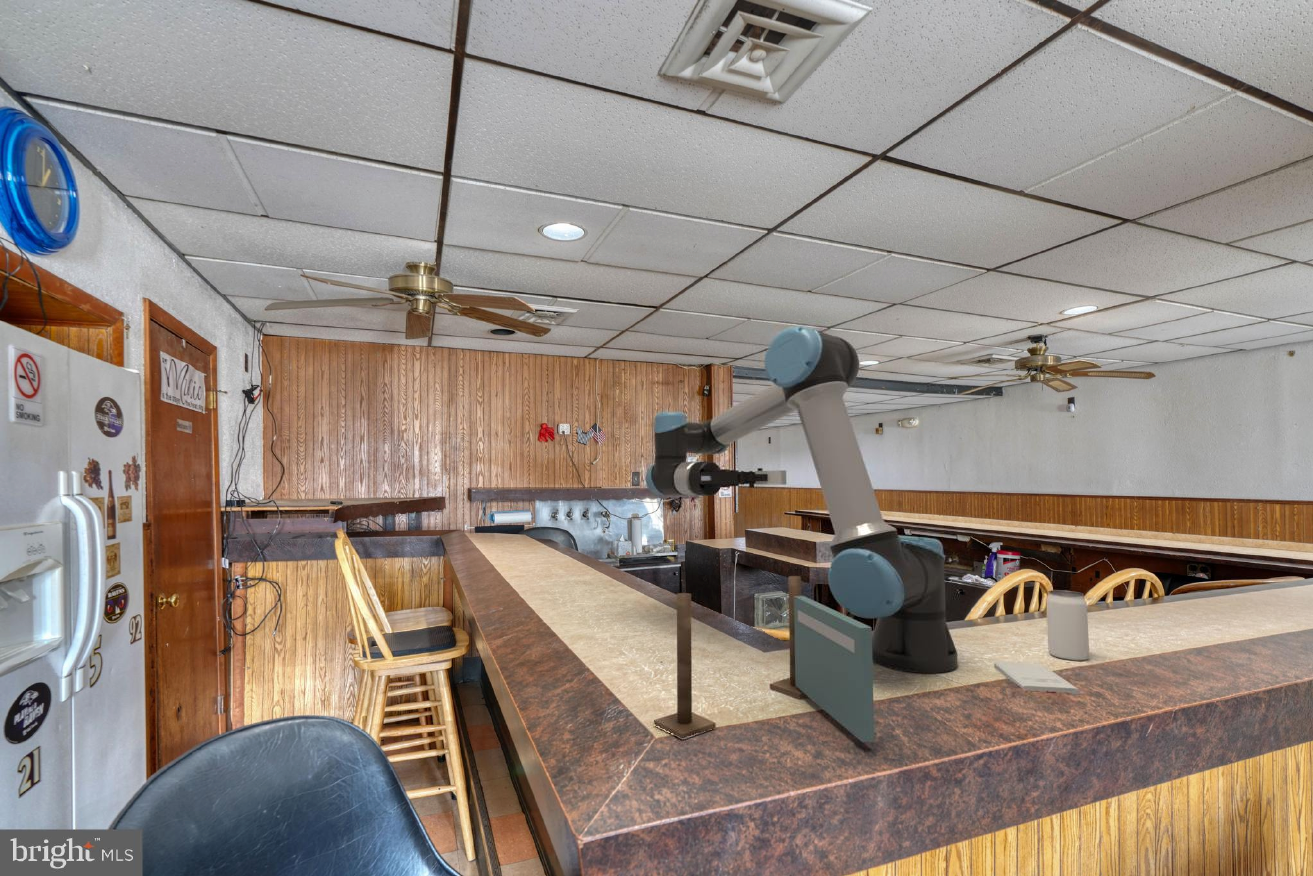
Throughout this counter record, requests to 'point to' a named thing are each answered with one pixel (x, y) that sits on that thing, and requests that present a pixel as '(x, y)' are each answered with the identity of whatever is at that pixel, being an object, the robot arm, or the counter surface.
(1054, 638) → the can
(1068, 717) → the counter surface
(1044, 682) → the external hard drive
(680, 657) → the gate frame
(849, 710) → the gate door
